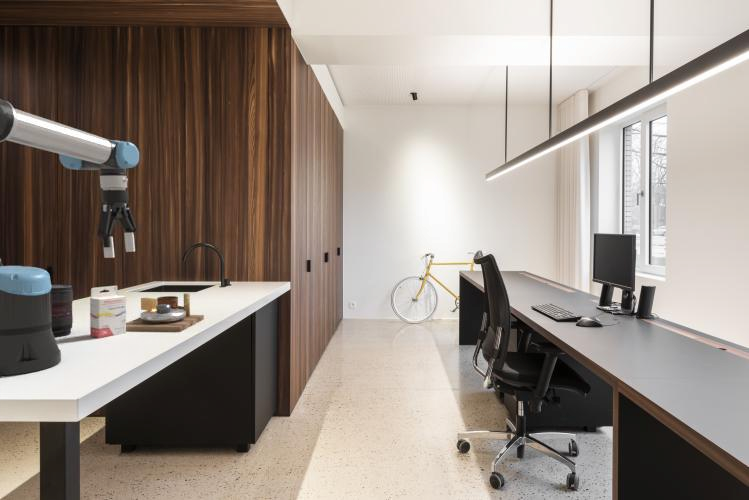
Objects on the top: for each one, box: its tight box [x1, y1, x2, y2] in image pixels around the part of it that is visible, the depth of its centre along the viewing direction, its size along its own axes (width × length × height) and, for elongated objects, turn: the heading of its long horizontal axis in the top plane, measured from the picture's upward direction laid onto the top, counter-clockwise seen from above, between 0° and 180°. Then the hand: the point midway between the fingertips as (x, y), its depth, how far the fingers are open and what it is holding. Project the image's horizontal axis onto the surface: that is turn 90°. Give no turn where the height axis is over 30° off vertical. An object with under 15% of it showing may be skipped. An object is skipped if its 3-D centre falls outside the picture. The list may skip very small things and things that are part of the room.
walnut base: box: [126, 292, 205, 333], centre depth 155 cm, size 20×20×10 cm
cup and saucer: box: [156, 295, 184, 310], centre depth 176 cm, size 12×12×6 cm
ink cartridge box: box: [89, 285, 127, 339], centre depth 140 cm, size 9×5×15 cm, turn 150°
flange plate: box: [140, 297, 186, 322], centre depth 156 cm, size 18×14×6 cm
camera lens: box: [51, 284, 74, 338], centre depth 139 cm, size 8×8×15 cm
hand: (120, 254), depth 150 cm, fingers open, 13 cm apart
